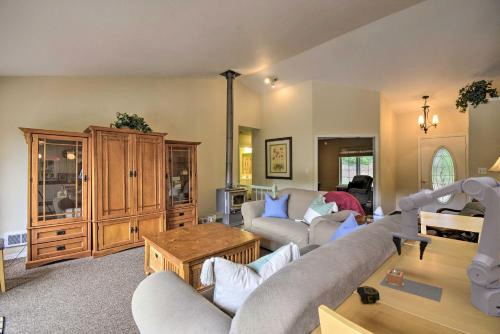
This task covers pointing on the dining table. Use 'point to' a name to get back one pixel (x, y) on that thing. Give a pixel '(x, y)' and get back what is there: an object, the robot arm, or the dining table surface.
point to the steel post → (394, 271)
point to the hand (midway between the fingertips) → (410, 256)
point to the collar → (394, 277)
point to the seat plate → (416, 289)
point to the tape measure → (368, 294)
